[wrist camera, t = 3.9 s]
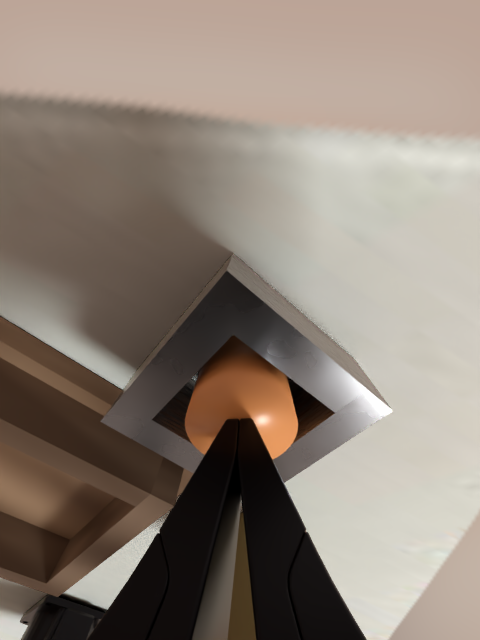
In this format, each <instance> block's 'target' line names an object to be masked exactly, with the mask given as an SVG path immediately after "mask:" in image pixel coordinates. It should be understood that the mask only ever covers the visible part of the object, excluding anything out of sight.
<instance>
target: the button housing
mask: <svg viewBox="0 0 480 640" xmlns="http://www.w3.org/2000/svg"><path fill="white" fill-rule="evenodd" d="M232 335H234V336H236V337H237V338H238V339H240V340H241V341H242V342H244V343H245V344H246V345H247V346H249V347H250V348H251V349H253V350H254V351H255V352H257V353H258V354H259V355H260V356H262V357H263V358H264V359H266V360H267V361H268V362H270V363H271V364H272V365H273V366H275V367H276V368H277V369H279V370H280V371H281V372H283V373H284V374H285V375H286V376H288V377H289V378H290V379H292V380H291V381H290V382H288V383H289V387H290V391H291V395H292V399H293V404H294V408H295V412H296V416H297V420H298V430H297V434H296V437H295V439H294V442H293V443H292V444H291V446H290V447H289V448H288V449H287V450H286V451H285V452H284V453H283V454H281V455H280V456H278V457H277V458H275V459H273V462H274V464H275V466H276V468H277V470H278V472H279V474H280V476H281V478H282V480H283V482H284V483H285V482H286V481H288V480H289V479H291V478H292V477H294V476H295V475H297V474H298V473H300V472H301V471H303V470H304V469H306V468H307V467H309V466H310V465H312V464H313V463H315V462H316V461H318V460H319V459H321V458H322V457H324V456H325V455H327V454H328V453H330V452H332V451H333V450H335V449H336V448H338V447H339V446H341V445H342V444H344V443H345V442H347V441H348V440H350V439H351V438H353V437H354V436H356V435H357V434H359V433H360V432H362V431H363V430H365V429H366V428H368V427H369V426H371V425H372V424H374V423H375V422H377V421H378V420H380V419H381V418H383V417H385V416H386V415H388V414H389V413H391V412H392V411H393V410H392V409H391V408H390V406H389V405H388V404H387V402H386V401H385V400H384V398H383V397H382V396H381V394H380V393H379V392H378V390H377V389H376V387H375V386H374V385H373V383H372V382H371V381H370V379H369V378H368V377H367V375H366V374H365V373H364V371H363V370H362V369H361V367H360V366H359V365H358V363H357V362H356V360H355V359H353V358H352V357H351V356H350V355H349V354H348V353H347V352H346V351H344V350H343V349H342V348H341V347H340V346H339V345H338V344H336V343H335V342H334V341H333V340H332V339H331V338H330V337H328V336H327V335H326V334H325V333H324V332H323V331H322V330H320V329H319V328H318V327H317V326H316V325H315V324H314V323H312V322H311V321H310V320H309V319H308V318H307V317H306V316H304V315H303V314H302V313H301V312H300V311H299V310H298V309H296V308H295V307H294V306H293V305H292V304H291V303H290V302H288V301H287V300H286V299H285V298H284V297H283V296H282V295H280V294H279V293H278V292H277V291H276V290H275V289H274V288H272V287H271V286H270V285H269V284H268V283H267V282H266V281H264V280H263V279H262V278H261V277H260V276H259V275H258V274H256V273H255V272H254V271H253V270H252V269H251V268H250V267H248V266H247V265H246V264H245V263H244V262H243V261H242V260H240V259H239V258H238V257H237V256H236V255H235V254H234V253H233V254H232V255H231V257H230V258H229V259H228V260H227V261H226V263H225V264H224V265H223V266H222V267H221V269H220V270H219V271H218V272H217V274H216V275H215V276H214V277H213V278H212V280H211V281H210V282H209V283H208V284H207V286H206V287H205V288H204V289H203V291H202V292H201V293H200V294H199V295H198V297H197V298H196V299H195V300H194V301H193V303H192V304H191V305H190V306H189V308H188V309H187V310H186V311H185V312H184V314H183V315H182V316H181V317H180V318H179V320H178V321H177V322H176V323H175V325H174V326H173V327H172V328H171V329H170V331H169V332H168V333H167V334H166V335H165V337H164V338H163V339H162V340H161V342H160V343H159V344H158V345H157V346H156V348H155V349H154V350H153V351H152V353H151V354H150V355H149V356H148V357H147V359H146V360H145V361H144V362H143V363H142V365H141V366H140V367H139V368H138V370H137V371H136V372H135V374H134V375H133V376H132V378H131V379H130V381H129V382H128V383H127V385H126V386H125V388H124V389H123V390H122V392H121V393H120V395H119V396H118V397H117V399H116V400H115V402H114V403H113V404H112V406H111V407H110V409H109V410H108V411H107V413H106V414H105V416H104V417H103V419H102V420H101V421H100V422H102V423H104V424H105V425H107V426H109V427H111V428H113V429H114V430H116V431H118V432H120V433H122V434H123V435H125V436H127V437H129V438H131V439H132V440H134V441H136V442H138V443H140V444H141V445H143V446H145V447H147V448H149V449H150V450H152V451H154V452H156V453H158V454H159V455H161V456H163V457H165V458H167V459H168V460H170V461H172V462H174V463H176V464H177V465H179V466H181V467H183V468H185V469H186V470H188V471H190V472H192V473H194V472H195V470H196V469H197V467H198V465H199V464H200V462H201V460H202V459H203V457H204V454H203V453H201V452H200V451H199V450H198V449H197V448H196V447H195V446H194V445H193V444H192V442H191V441H190V439H189V437H188V435H187V433H186V429H185V417H186V413H187V410H188V406H189V403H190V400H191V397H192V393H193V390H194V387H195V384H196V382H195V381H193V380H192V379H191V378H192V377H193V376H194V375H195V374H196V373H197V372H198V371H199V370H200V369H201V368H202V367H203V366H204V364H205V363H206V362H207V361H208V360H209V359H210V358H211V357H212V356H213V355H214V354H215V353H216V352H217V351H218V350H219V349H220V348H221V347H222V346H223V345H224V344H225V343H226V342H227V340H228V339H229V338H230V337H231V336H232ZM241 500H242V498H241Z"/></svg>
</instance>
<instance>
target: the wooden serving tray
mask: <svg viewBox="0 0 480 640" xmlns="http://www.w3.org/2000/svg"><path fill="white" fill-rule="evenodd" d="M121 392H122V390H121V389H119V388H117V387H116V386H114V385H112V384H111V383H109V382H107V381H106V380H104V379H102V378H101V377H99V376H97V375H96V374H94V373H93V372H91V371H89V370H88V369H86V368H84V367H83V366H81V365H79V364H78V363H76V362H74V361H73V360H71V359H69V358H68V357H66V356H64V355H63V354H61V353H60V352H58V351H56V350H55V349H53V348H51V347H50V346H48V345H46V344H45V343H43V342H41V341H40V340H38V339H36V338H35V337H33V336H32V335H30V334H28V333H27V332H25V331H23V330H22V329H20V328H18V327H17V326H15V325H13V324H12V323H10V322H8V321H7V320H5V319H3V318H2V317H0V577H1V578H3V579H6V580H9V581H12V582H15V583H18V584H21V585H24V586H27V587H30V588H33V589H35V590H38V591H41V592H44V593H47V594H50V595H53V596H56V597H58V596H60V595H61V594H62V593H64V592H65V591H66V590H67V589H69V588H70V587H71V586H73V585H74V584H75V583H76V582H78V581H79V580H80V579H82V578H83V577H84V576H85V575H87V574H88V573H89V572H91V571H92V570H93V569H94V568H96V567H97V566H98V565H100V564H101V563H102V562H103V561H105V560H106V559H107V558H109V557H110V556H111V555H112V554H114V553H115V552H116V551H118V550H119V549H120V548H121V547H123V546H124V545H125V544H127V543H128V542H129V541H130V540H132V539H133V538H134V537H136V536H137V535H138V534H139V533H141V532H142V531H143V530H145V529H146V528H147V527H148V526H150V525H151V524H152V523H153V522H155V521H156V520H157V519H159V518H160V517H161V516H162V515H164V514H165V513H166V512H168V511H169V510H170V509H171V508H173V507H174V505H175V502H176V498H177V496H178V495H180V494H181V493H182V492H183V490H184V489H185V487H186V485H187V484H188V482H189V480H190V479H191V477H192V475H193V474H194V473H192V472H190V471H188V470H186V469H185V468H183V467H181V466H179V465H177V464H176V463H174V462H172V461H170V460H168V459H167V458H165V457H163V456H161V455H159V454H158V453H156V452H154V451H152V450H150V449H149V448H147V447H145V446H143V445H141V444H140V443H138V442H136V441H134V440H132V439H131V438H129V437H127V436H125V435H123V434H122V433H120V432H118V431H116V430H114V429H113V428H111V427H109V426H107V425H105V424H104V423H102V422H100V421H101V420H102V419H103V417H104V416H105V414H106V413H107V411H108V410H109V409H110V407H111V406H112V404H113V403H114V402H115V400H116V399H117V397H118V396H119V395H120V393H121Z"/></svg>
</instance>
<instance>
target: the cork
mask: <svg viewBox="0 0 480 640" xmlns="http://www.w3.org/2000/svg"><path fill="white" fill-rule="evenodd" d="M227 640H256V633H255V624H254V614H253V604H252V595H251V585H250V575H249V566H248V556H247V546H246V537H245V527H244V517H243V512H242V513H240V520H239V530H238V540H237V550H236V560H235V570H234V580H233V589H232V599H231V609H230V619H229V629H228V639H227Z"/></svg>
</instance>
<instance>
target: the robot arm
mask: <svg viewBox="0 0 480 640" xmlns="http://www.w3.org/2000/svg"><path fill="white" fill-rule="evenodd" d="M241 498H242V508H243V517H244V527H245V537H246V546H247V556H248V566H249V575H250V585H251V595H252V604H253V614H254V624H255V633H256V640H367V639H366V638H365V636H364V634H363V633H362V631H361V629H360V628H359V626H358V624H357V623H356V621H355V619H354V618H353V616H352V614H351V612H350V611H349V609H348V607H347V605H346V604H345V602H344V600H343V598H342V597H341V595H340V593H339V591H338V590H337V588H336V586H335V584H334V583H333V581H332V579H331V577H330V575H329V573H328V571H327V569H326V567H325V565H324V564H323V562H322V560H321V558H320V556H319V554H318V552H317V550H316V548H315V546H314V544H313V542H312V540H311V538H310V535H309V533H308V532H306V528H305V526H304V523H303V521H302V519H301V517H300V515H299V513H298V511H297V509H296V507H295V505H294V503H293V501H292V499H291V497H290V495H289V493H288V491H287V488H286V486H285V484H284V482H283V480H282V478H281V476H280V474H279V472H278V470H277V468H276V466H275V464H274V462H273V460H272V458H271V455H270V453H269V451H268V449H267V447H266V445H265V443H264V441H263V439H262V437H261V435H260V433H259V431H258V429H257V427H256V425H255V423H254V420H253V419H252V418H241V419H240V421H239V419H227V420H226V421H225V422H224V424H223V426H222V427H221V429H220V430H219V432H218V434H217V435H216V437H215V439H214V440H213V442H212V444H211V445H210V447H209V449H208V450H207V452H206V454H205V455H204V457H203V459H202V460H201V462H200V464H199V465H198V467H197V469H196V470H195V472H194V474H193V475H192V477H191V479H190V480H189V482H188V484H187V485H186V487H185V489H184V490H183V492H182V493H181V495H180V497H179V498H178V500H177V502H176V503H175V505H174V507H173V508H172V510H171V512H170V513H169V515H168V517H167V518H166V520H165V522H164V523H163V525H162V527H161V528H160V533H158V534H157V535H156V536H155V538H154V540H153V541H152V543H151V545H150V546H149V548H148V550H147V551H146V553H145V554H144V556H143V558H142V559H141V561H140V562H139V564H138V566H137V567H136V569H135V570H134V572H133V573H132V575H131V577H130V578H129V580H128V581H127V583H126V584H125V586H124V587H123V588H122V590H121V591H120V593H119V594H118V596H117V597H116V599H115V600H114V602H113V603H112V604H111V606H110V607H109V609H108V610H107V612H106V613H103V612H100V611H97V610H94V609H91V608H88V607H86V606H83V605H80V604H77V603H74V602H71V601H68V600H65V599H62V598H59V597H56V596H53V595H47V596H46V597H44V598H43V599H42V600H41V601H39V602H38V603H37V604H36V605H34V606H33V607H32V608H31V609H30V610H28V611H27V612H26V613H25V614H24V615H23V617H22V618H21V620H20V622H21V623H23V624H26V625H28V627H27V629H26V631H25V633H24V634H23V636H22V638H21V640H227V639H228V629H229V619H230V609H231V599H232V589H233V580H234V570H235V560H236V550H237V540H238V530H239V520H240V510H241Z"/></svg>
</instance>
